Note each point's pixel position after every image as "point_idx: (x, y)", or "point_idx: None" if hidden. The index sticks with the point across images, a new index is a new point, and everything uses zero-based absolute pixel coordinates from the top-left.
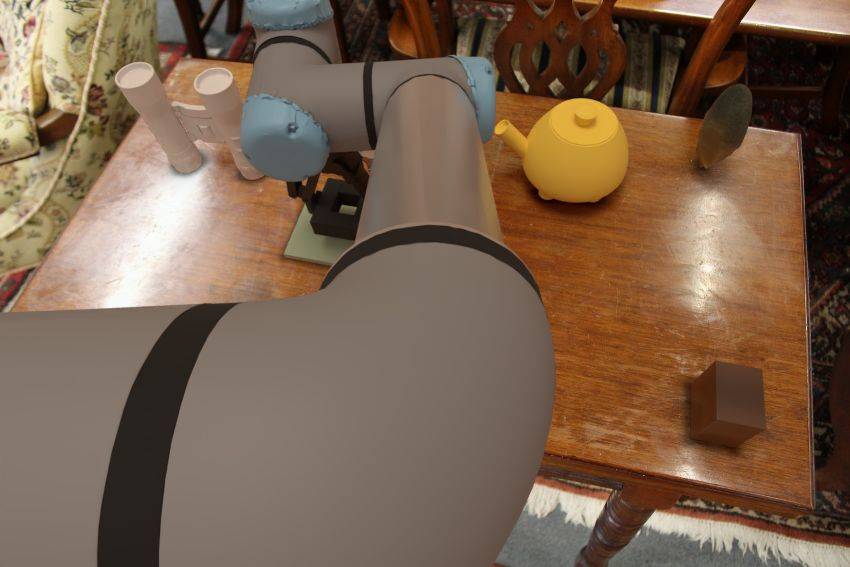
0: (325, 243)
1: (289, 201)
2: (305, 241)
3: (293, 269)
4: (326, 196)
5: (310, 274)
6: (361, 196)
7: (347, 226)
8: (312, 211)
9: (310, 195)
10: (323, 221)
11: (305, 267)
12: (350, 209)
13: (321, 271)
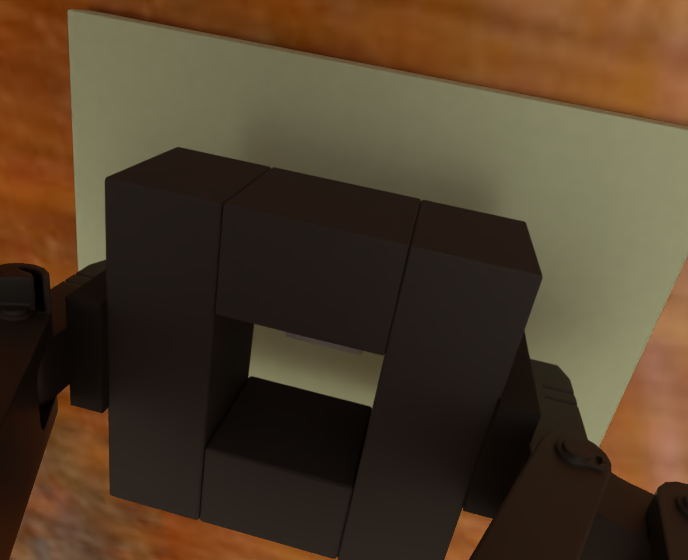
0: (483, 207)
1: (684, 457)
2: (598, 223)
3: (674, 52)
4: (427, 468)
5: (568, 19)
6: (200, 442)
7: (236, 220)
8: (541, 378)
9: (523, 498)
10: (426, 272)
11: (599, 68)
12: (375, 388)
13: (503, 43)
